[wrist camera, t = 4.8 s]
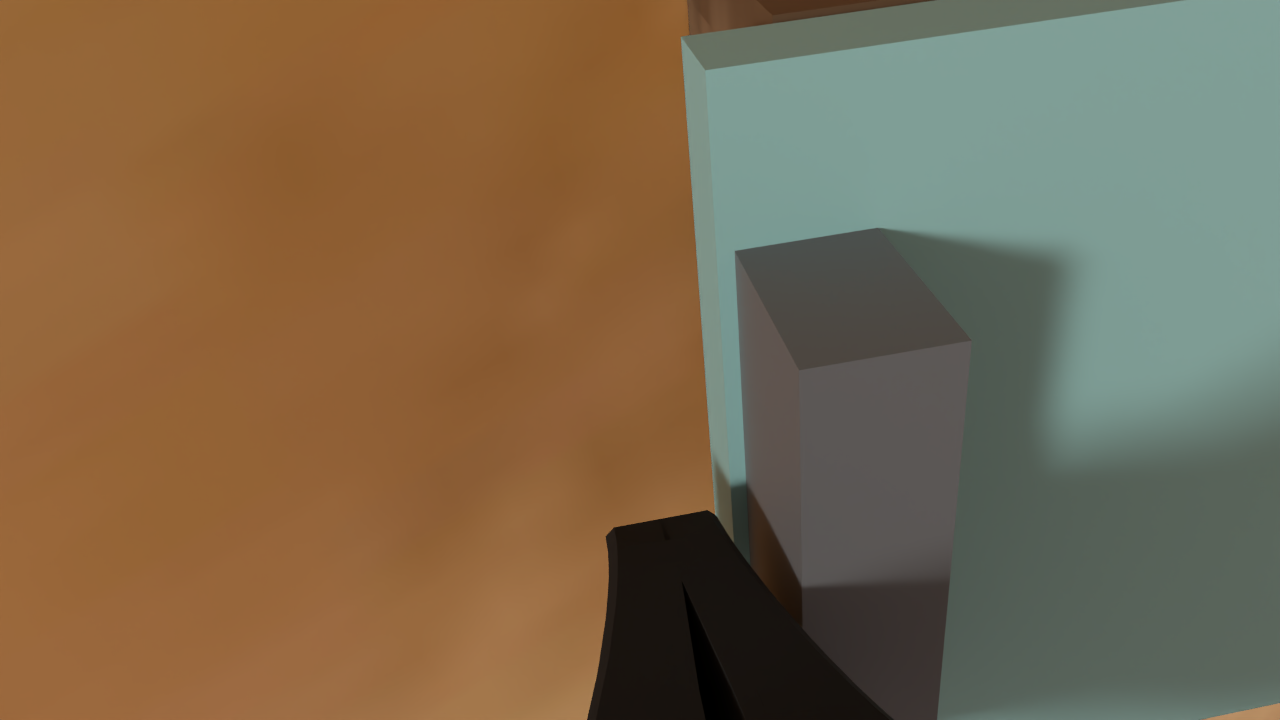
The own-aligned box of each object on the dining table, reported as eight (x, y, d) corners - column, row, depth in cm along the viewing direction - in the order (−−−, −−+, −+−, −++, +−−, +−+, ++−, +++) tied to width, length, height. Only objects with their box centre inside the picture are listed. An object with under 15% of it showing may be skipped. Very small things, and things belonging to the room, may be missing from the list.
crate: (1253, 432, 23) (1432, 593, 19) (723, 530, 22) (790, 723, 18) (1421, -170, 17) (1748, -124, 13) (682, -71, 16) (772, 14, 12)
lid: (1389, 616, 19) (1571, 792, 16) (732, 751, 18) (793, 965, 15) (1691, -108, 12) (2098, -44, 9) (681, 36, 11) (772, 161, 8)
